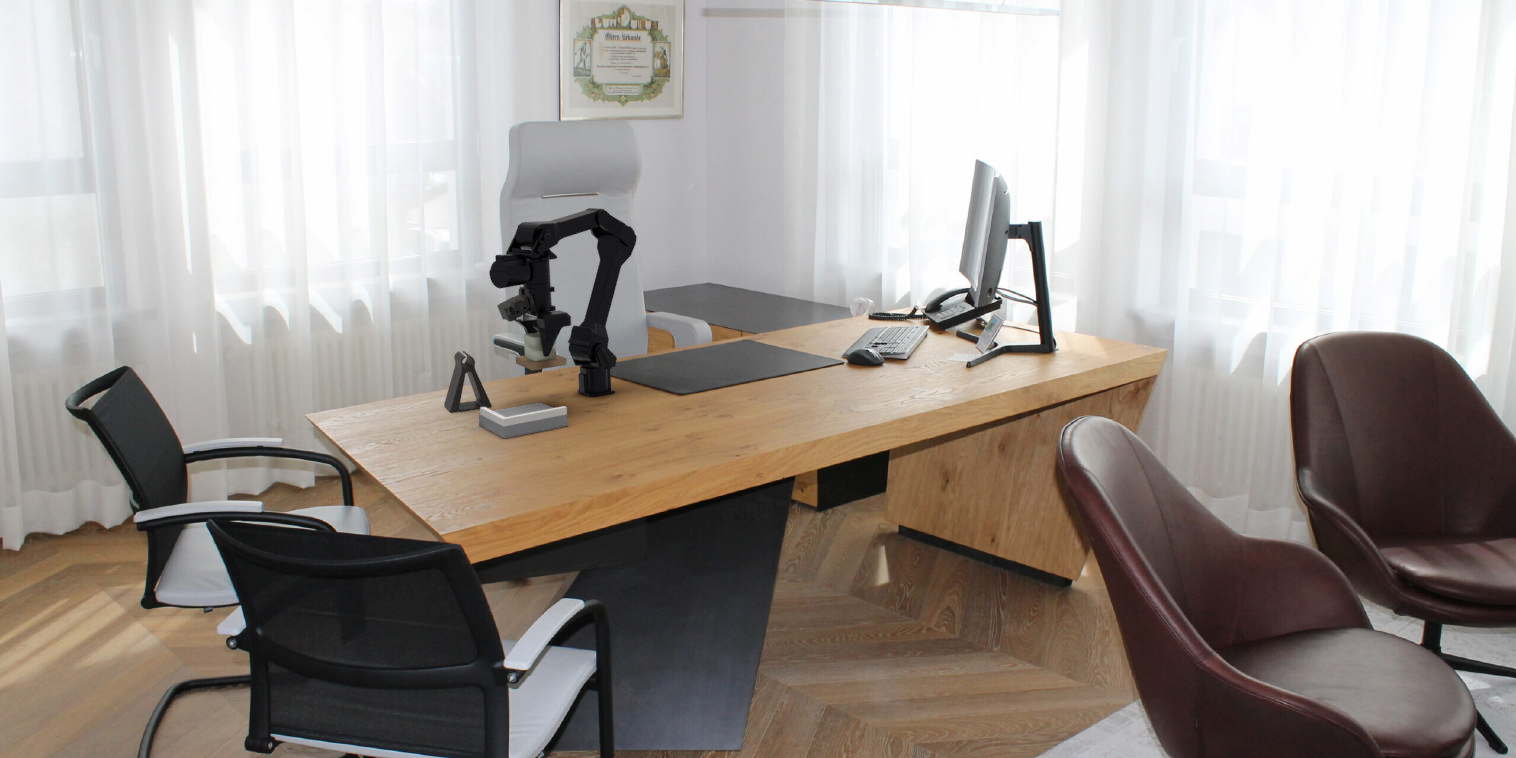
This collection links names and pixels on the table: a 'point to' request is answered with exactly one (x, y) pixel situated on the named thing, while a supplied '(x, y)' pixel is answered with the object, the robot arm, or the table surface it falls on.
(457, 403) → the phone stand
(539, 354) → the cube on wooden base
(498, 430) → the dock
